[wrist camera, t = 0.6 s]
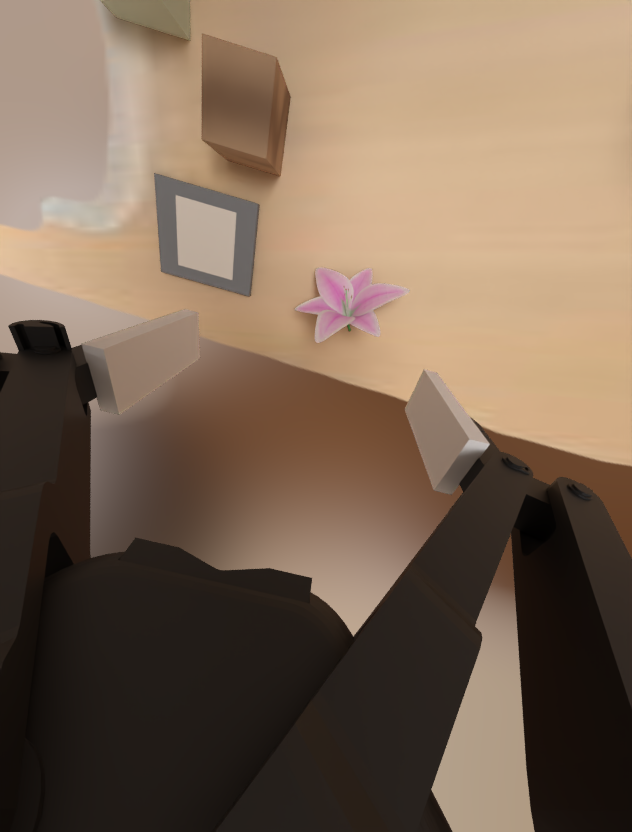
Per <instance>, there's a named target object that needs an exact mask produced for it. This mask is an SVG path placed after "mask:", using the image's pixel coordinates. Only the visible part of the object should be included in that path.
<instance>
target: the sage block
mask: <svg viewBox="0 0 632 832" xmlns="http://www.w3.org/2000/svg"><path fill="white" fill-rule="evenodd" d="M100 1H101V2H102V3H103V4H104V5H105V6H106V7H107V8H108V9H109V10H110V11H111V13H112V14H113V15H114V16H115V17H116V18H119V19H122V20H125V21H129V22H132V23H135V24H138V25H141V26H145V27H148V28H151V29H154V30H157V31H160V32H164V33H167V34H170V35H173V36H176V37H179V38H183V39H186V40H189V41H191V40H190V0H100Z"/></svg>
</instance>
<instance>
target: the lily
mask: <svg viewBox="0 0 632 832" xmlns="http://www.w3.org/2000/svg"><path fill="white" fill-rule="evenodd" d="M372 276H373V275H372V269H371V268H367V269H365V270H363V271H361V272H359V273H358V274H356V275H355V276H353V277H352V278H351V279H350V280H349V279H348V278H347V277H346V276H344V275H343V274H341V273H339V272H337V271H334V270H331V269H328V268H323V267H320V268H316V270H315V277H316V283H317V288H318V291H319V294H320V296H319V297H316V298H313V299H310V300H308V301H306V302H304V303H302V304H300V305H299V306H297V307H296V308H295V310H296V311H300V312H305V313H311V314H317V315H318V317H317V321H316V327H315V341H316V343H321V342H322V341H324V340H326V339H327V338H329V337H330V336H332V335H333V334H334V333H336V332H337V331H339V330H340V329H342V328H343V327H345V326H348V329H349V331H351V329H350V325H349V324H351V325H352V326H354V327H356V328H358V329H360V330H363V331H365V332H367V333H369V334H371V335H374V336H376V337H379V336H380V327H379V323H378V320H377V317H376V315H375V313H374V311H373V310H375V309H376V308H378V307H380V306H382V305H384V304H386V303H388V302H390V301H393V300H395V299H397V298H399V297H402V296H404V295H406V294H407V293H409V291H410V290H408V289H407V288H404V287H401V286H397V285H392V284H385V283H376V284H372Z"/></svg>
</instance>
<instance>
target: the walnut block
mask: <svg viewBox="0 0 632 832" xmlns="http://www.w3.org/2000/svg"><path fill="white" fill-rule="evenodd" d="M290 98H291V97H290V94H289V91H288V88H287V85H286V82H285V80H284V77H283V74H282V71H281V68H280V66H279V63H278V60H277V57H274V56H271V55H268V54H265V53H262V52H258V51H255V50H252V49H249V48H246V47H243V46H240V45H237V44H234V43H230V42H227V41H224V40H221V39H218V38H215V37H212V36H209V35H205V34H202V140H203V141H204V142H206V143H207V144H208V145H209V146H211V147H212V148H213V149H214V150H215V151H217V152H218V153H219V154H220V155H222V156H223V157H224V158H225V159H227V160H228V161H232V162H235V163H238V164H241V165H245V166H248V167H251V168H255V169H258V170H261V171H265V172H268V173H271V174H275V175H278V176H281V168H282V161H283V153H284V145H285V137H286V129H287V121H288V113H289V105H290Z"/></svg>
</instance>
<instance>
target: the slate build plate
mask: <svg viewBox="0 0 632 832" xmlns="http://www.w3.org/2000/svg"><path fill="white" fill-rule="evenodd" d="M154 177H155V191H156V205H157V220H158V234H159V248H160V262H161V272H164V273H168V274H171V275H175V276H178V277H182V278H186V279H189V280H193V281H196V282H200V283H203V284H207V285H210V286H214V287H217V288H221V289H225V290H228V291H232V292H235V293H239V294H242V295H246V296H251V286H252V276H253V266H254V255H255V245H256V235H257V225H258V215H259V204H257V203H253V202H250V201H247V200H243V199H240V198H237V197H233V196H230V195H226V194H223V193H220V192H216V191H213V190H210V189H206V188H203V187H199V186H196V185H193V184H189V183H186V182H183V181H179V180H176V179H172V178H169V177H166V176H162V175H159V174H155V173H154Z"/></svg>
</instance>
